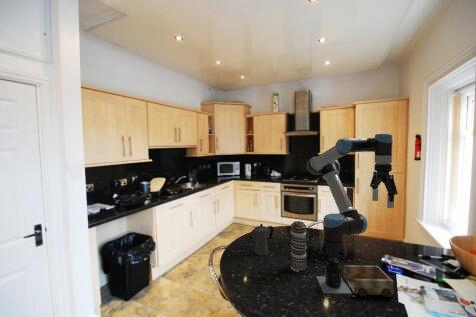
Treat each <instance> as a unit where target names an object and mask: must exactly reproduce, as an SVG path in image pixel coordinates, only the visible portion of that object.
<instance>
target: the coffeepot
mask: <svg viewBox="0 0 476 317" xmlns="http://www.w3.org/2000/svg"><path fill="white" fill-rule="evenodd" d="M274 230H275V229H274V227H273V226H272V225H267V226H264V225H263V224H262V223H260V224H259V225H258V226H254V227H253V229H252V230H251V233H253V235H254V236H255V245H254V254H255V255H257V256H267V255H268V254H269V253H270V251H269V245H268V240H271V239H272V238H273V233H274ZM269 231H270V233H269Z"/></svg>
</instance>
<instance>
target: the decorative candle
mask: <svg viewBox="0 0 476 317" xmlns="http://www.w3.org/2000/svg"><path fill="white" fill-rule="evenodd" d="M290 228H291V229H290V232H289V242H290V243H289V244H290V248H291V249H290V255H289V256H290V269H291V270H292V271H294V272H297V273H299V272H300V271H304V270H306V269H307V268H308V266H307V265H308V264H307V261H308V260H307V259H308V257H307V251H306V250H307V246H308V244H307V242H308V237H307V236H308V233H307V231H306V230H307V229H306V228H307V225H306V224H305V222H303V221H300V220H296V221H293V222H292V223H291V224H290Z"/></svg>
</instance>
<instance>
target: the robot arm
mask: <svg viewBox="0 0 476 317" xmlns="http://www.w3.org/2000/svg"><path fill="white" fill-rule="evenodd" d="M366 152H367V153H368V152H370V153H373V152H374V169H373V170H374V171H373V173H372V177H371V181H370V184H369V187H370V188H371V189H372V190H371V191H372V192H371V193H372V197H371V199H372V201H373V202H378V201H379V186H380V185H381V183H383V184H384V187H385V189H386V191H387V194H386V195H387V196H386V208H387V209H394V208H395V207H394V206H395V196H397V195H398V193H399V192H398V189H397V186H396V183H395V178H394V174H391V173H390V172H392V171H393V165H392V163H393V134H392V133H376V134H375V135H374V137H367V138H366V137H361V138H357V137H356V138H344V137H343V138H339V139H338V140H336V143H335V145H334V146H332V147H331V148H329V149H327V150H326V151H324V152H322V153H320V154H319V155H318V156H312V157H311V158H310V159H309V160H308V161H307V162H306V170H307V171H308V172H309V173H310V174H311V175H316V176H319V175H321V177H322V179H323V180H325V181H326V184H327V186H328V188H329V191H330V193H331V195H332V197H333V200H334V202H335V204H336V207H337V209H338V211H339V212H338V213H333V212H332V213H329V214H326V215H324V216H323V220H322V225H323V236H322V238H323V239H322V242H321V245H320V249H319V253H320V254H321V255H322V256H323V257H326V258H327V259H328V258H329V257H334V258H337V259H338V260H339V261H340V260H341V261H342V260H345V259H347V258H348V250H347V247H346V245H345V244H346V243H345V237H347V236H355V235H361V234H364V233H365V232H366V231H367V229H368V220H367V218H366V217H365V215H363V214H362V213H359V210H358V209H356V208H354V206H353V204H352V201H351V200H350V198H349V196H348V194H347V191H346V190H345V187H344V185H343V183H342V180H341V178H340V176H339V175H340V171H341V164H340V162H339V161H338V159H341V158H342V157H344V156H346V155H348V154H350V153H366Z"/></svg>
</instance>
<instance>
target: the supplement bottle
mask: <svg viewBox="0 0 476 317" xmlns="http://www.w3.org/2000/svg"><path fill="white" fill-rule="evenodd" d="M324 271H325V273H324V274H325V275H324V276H325V282H326V284H327V285H328V286H329V287H331V288H339V287H340V286H341V277H342V267H341V265H340V260H338V259H337V258H334V257H329V258H327V263H326V264H325V270H324Z"/></svg>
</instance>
